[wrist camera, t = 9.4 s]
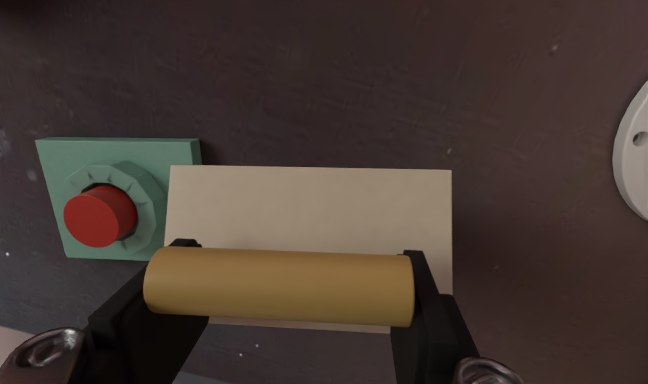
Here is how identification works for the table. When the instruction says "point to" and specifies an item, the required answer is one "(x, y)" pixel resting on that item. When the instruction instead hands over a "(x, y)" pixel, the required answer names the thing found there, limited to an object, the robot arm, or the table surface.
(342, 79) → the table surface
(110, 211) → the button
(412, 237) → the clock
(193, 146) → the switch box
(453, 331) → the robot arm
